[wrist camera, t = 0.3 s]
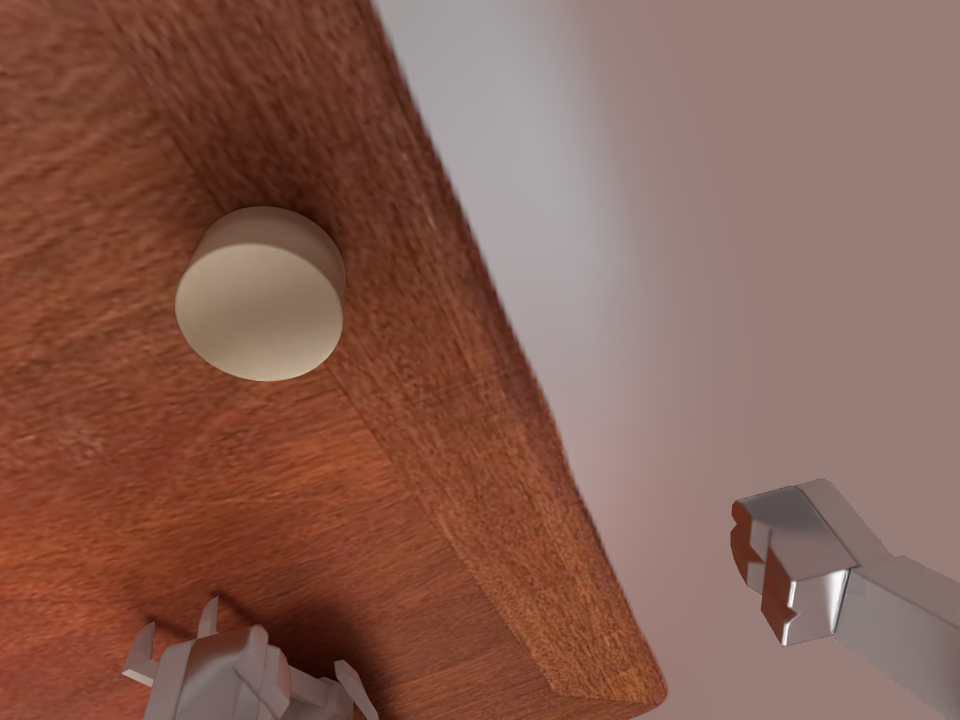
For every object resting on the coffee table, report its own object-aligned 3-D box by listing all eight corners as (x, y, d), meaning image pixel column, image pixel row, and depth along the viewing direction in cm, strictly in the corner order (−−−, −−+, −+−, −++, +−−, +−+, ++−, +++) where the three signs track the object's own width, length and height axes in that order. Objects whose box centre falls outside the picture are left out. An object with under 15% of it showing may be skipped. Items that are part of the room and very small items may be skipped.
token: (168, 225, 20) (142, 267, 18) (317, 188, 21) (310, 225, 18) (233, 347, 23) (218, 397, 21) (363, 315, 23) (363, 361, 21)
